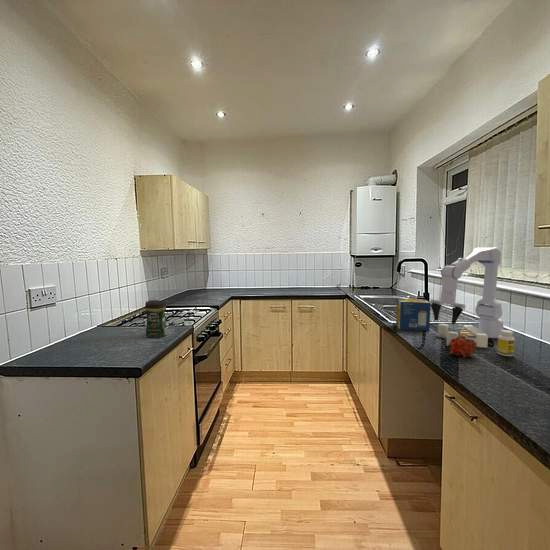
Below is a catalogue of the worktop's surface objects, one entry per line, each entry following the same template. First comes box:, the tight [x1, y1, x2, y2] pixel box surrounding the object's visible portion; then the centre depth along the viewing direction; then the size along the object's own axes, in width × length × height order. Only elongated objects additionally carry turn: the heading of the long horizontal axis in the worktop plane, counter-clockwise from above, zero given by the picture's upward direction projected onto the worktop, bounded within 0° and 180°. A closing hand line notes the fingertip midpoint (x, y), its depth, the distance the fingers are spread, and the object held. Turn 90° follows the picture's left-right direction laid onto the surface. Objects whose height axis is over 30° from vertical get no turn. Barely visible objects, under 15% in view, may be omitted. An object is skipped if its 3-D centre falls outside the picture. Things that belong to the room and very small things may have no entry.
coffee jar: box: [144, 299, 168, 339], centre depth 156 cm, size 10×8×19 cm
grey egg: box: [446, 330, 460, 347], centre depth 138 cm, size 4×4×6 cm
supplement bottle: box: [496, 329, 515, 357], centre depth 126 cm, size 5×5×10 cm
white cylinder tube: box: [437, 323, 449, 339], centre depth 152 cm, size 4×4×6 cm
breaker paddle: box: [459, 331, 471, 336], centre depth 143 cm, size 4×2×1 cm, turn 76°
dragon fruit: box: [446, 336, 478, 358], centre depth 125 cm, size 8×8×12 cm
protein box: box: [395, 298, 431, 332], centre depth 168 cm, size 10×15×16 cm
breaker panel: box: [456, 324, 489, 348], centre depth 144 cm, size 7×18×6 cm, turn 166°
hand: (444, 321), depth 139 cm, fingers open, 7 cm apart
